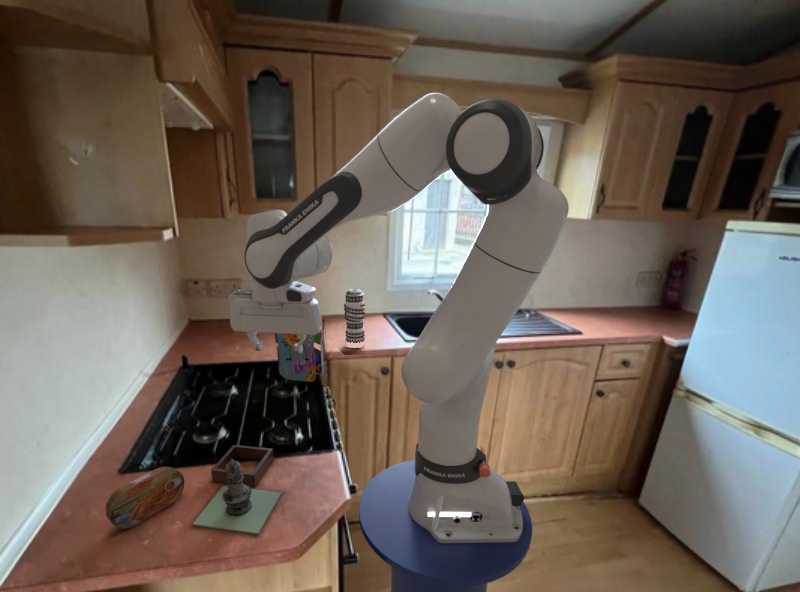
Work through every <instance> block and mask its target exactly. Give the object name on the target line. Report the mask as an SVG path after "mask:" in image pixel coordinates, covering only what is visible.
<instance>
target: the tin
mask: <svg viewBox="0 0 800 592" xmlns="http://www.w3.org/2000/svg"><path fill="white" fill-rule="evenodd" d="M184 488H185V477H184V475H183V474H182V472H181V471H180V470H178V469H175V468H173V467H171V466H160V467H157V468H155V469H153V470H151V471H149V472H147V473H145V474H143V475H142V476H139V477H138V478H135V479H134V480H131V481H130V482H128V483H125V484H124V485H122V486H120V487H118V488H117V489H116V490H114V492H112V494H111V495H110V496H109V498H108V499H107V501H106V503H105V510H104V511H105V516H106V518H107V520H108V521H109V522H110V523H111V525H113V526H114V527H115V528H118V529H123V530H125V529H130V528H134V527H135V526H137V525H139V524H141V523H143V522H144V521H146V520H147V519H149V518H150V517H152V516H154V515H156V514H158V513H159V512H161V511H163V510H164V509H167V508H168V507H170V506H171V505H173V504H174V503H175V502H176V501H177V500H178V499H179V498H180V497H181V496H182V493H183V491H184Z"/></svg>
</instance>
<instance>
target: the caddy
mask: <svg viewBox="0 0 800 592" xmlns="http://www.w3.org/2000/svg"><path fill="white" fill-rule="evenodd" d="M237 458H238V459H245V460H254V461H255V460H256V461H260V462H259V463H258V464H257V465H256V467H255V468H254V470H253V471H252V472H249V471H241V473H242V474H243V476H244V478H243V484H244V485H247V486H249V487H253V488H257V486H258V485H259V482H261V480H262V478H263V477H264V476H265V474H266V472H267V471H268V469H269V468H270V466H271V465H272V463H273V462H274V461H275V456H274V448H269V447H258V446H257V447H256V446H250V445H238V444H233V445H231V447H230V448H229V449H228V450H227V451H226V452H225V454H224V455H223V456H222V457H221V458H220V459H219V460H218V461H217V462H216V464H215V465H214V466H213V467H212V468H211V470H210V473H211V479H212V483H219V484H227V485H228V483H227V482H226V480H225V479H226V477H227V474H226V465H227V464H228V463H229V462H231V461H230V460H231V459H233V460H234V461H236V459H237Z"/></svg>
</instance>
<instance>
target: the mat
mask: <svg viewBox="0 0 800 592" xmlns="http://www.w3.org/2000/svg"><path fill="white" fill-rule="evenodd" d="M227 488H228V485H222V486H221V487H220V488H219V490H218V491H217V492H216V494H215V495H214V496H213V497H212V499H211V500H210V501H209V503H208V504H207V505H206V506H205V508H204V509H203V510H202V511H201V513H200V514H199V515H198V516H197V518H196V519H195V520H194V522H193V523H192V526H195V527H201V528H209V529H215V530H223V531H230V532H237V533H245V534H251V535H259V534H260V533H261V531H262V529H263V528H264V526H265V524H266V522H267V520H268V518H269V517H270V515H271V513H272V511H273V510H274V508H275V507H276V505H277V504H278V503H277V502H278V501H279V499H280V498H281V496H282V492H280V491H274V490H265V489H256V488H251V490H252V491H251V495H250V499H249V500H250V501H251V503H252V507H251V509H250V510H249V511H248V512H247V513H245V514H243V515H240V516H230V515H228V514H227V513H226V507H227V504H226V503H225V501H223V499H222V494H223V492H224V491H225V490H226V489H227Z"/></svg>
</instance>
